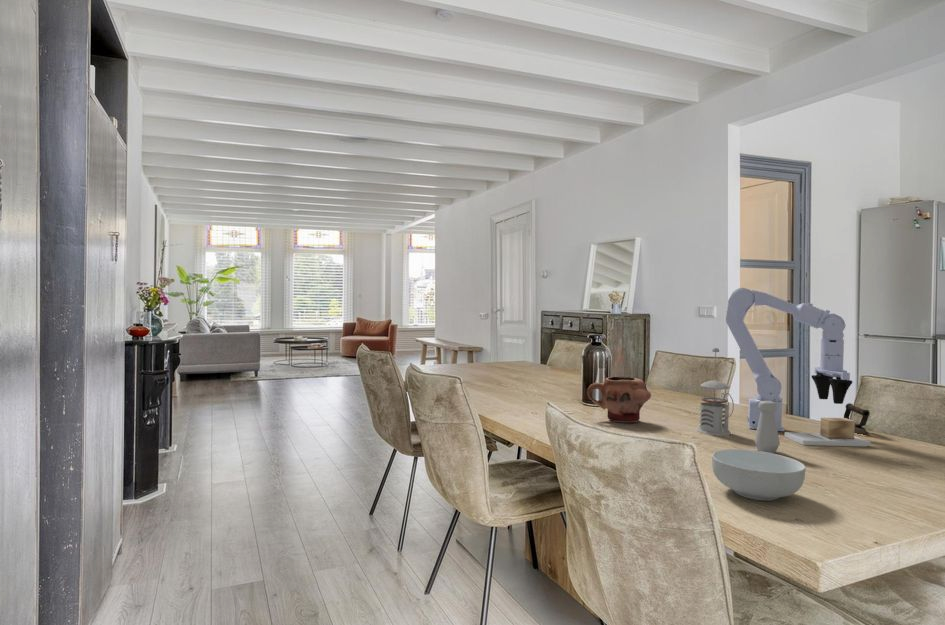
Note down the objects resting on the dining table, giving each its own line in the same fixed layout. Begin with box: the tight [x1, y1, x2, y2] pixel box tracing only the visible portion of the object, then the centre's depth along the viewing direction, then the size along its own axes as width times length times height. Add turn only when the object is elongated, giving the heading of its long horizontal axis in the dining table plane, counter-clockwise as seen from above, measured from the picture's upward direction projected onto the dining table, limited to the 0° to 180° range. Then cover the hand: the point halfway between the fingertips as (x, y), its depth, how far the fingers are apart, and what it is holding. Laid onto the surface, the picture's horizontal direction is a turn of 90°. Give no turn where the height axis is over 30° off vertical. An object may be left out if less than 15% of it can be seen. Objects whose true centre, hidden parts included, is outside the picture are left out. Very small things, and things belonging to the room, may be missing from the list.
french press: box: [696, 347, 735, 437], centre depth 172 cm, size 10×12×25 cm
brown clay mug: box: [586, 376, 652, 423], centre depth 188 cm, size 20×12×14 cm, turn 87°
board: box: [784, 431, 872, 447], centre depth 163 cm, size 18×10×1 cm, turn 88°
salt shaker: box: [754, 401, 781, 454], centre depth 151 cm, size 6×6×13 cm
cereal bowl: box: [711, 448, 806, 501], centre depth 117 cm, size 17×17×7 cm
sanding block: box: [819, 417, 856, 439], centre depth 163 cm, size 7×4×5 cm, turn 88°
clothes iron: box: [843, 402, 871, 435], centre depth 176 cm, size 7×11×10 cm, turn 178°
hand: (830, 401), depth 172 cm, fingers open, 7 cm apart
